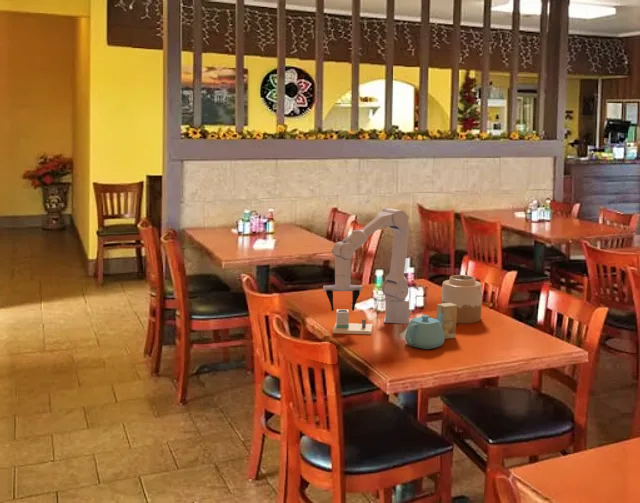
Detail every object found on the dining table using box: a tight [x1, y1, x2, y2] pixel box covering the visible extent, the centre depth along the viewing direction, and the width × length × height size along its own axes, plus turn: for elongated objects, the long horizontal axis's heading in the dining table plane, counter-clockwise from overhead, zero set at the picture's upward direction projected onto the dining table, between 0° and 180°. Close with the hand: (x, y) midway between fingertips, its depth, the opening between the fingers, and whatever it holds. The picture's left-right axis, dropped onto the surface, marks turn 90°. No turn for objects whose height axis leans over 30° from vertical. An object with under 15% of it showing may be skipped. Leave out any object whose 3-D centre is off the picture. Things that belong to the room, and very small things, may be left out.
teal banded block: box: [335, 308, 350, 328], centre depth 278 cm, size 4×4×6 cm
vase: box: [441, 274, 483, 325], centre depth 293 cm, size 15×15×17 cm
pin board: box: [332, 318, 374, 335], centre depth 278 cm, size 14×10×4 cm
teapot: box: [404, 313, 446, 350], centre depth 259 cm, size 13×11×18 cm
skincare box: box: [435, 303, 457, 340], centre depth 268 cm, size 6×4×12 cm
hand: (342, 310), depth 277 cm, fingers open, 7 cm apart
